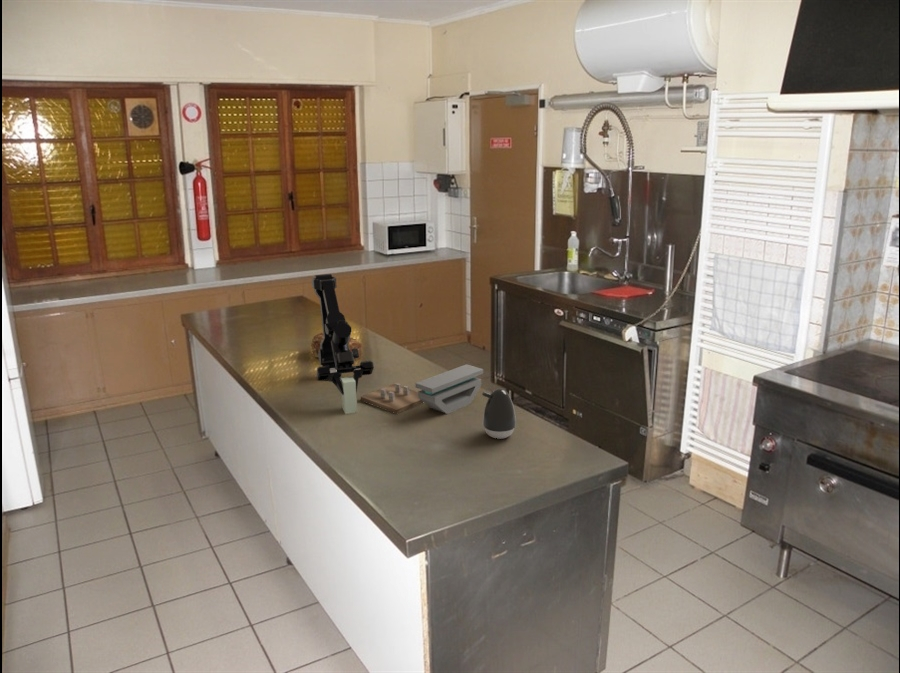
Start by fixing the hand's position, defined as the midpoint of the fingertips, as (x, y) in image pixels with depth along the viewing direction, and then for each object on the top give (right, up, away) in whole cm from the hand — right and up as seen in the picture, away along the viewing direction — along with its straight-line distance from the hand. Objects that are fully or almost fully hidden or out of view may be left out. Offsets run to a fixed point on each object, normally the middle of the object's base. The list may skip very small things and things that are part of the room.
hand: (349, 393), depth 230 cm
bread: (-13, +10, +56) cm, 58 cm away
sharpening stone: (+34, -5, +6) cm, 34 cm away
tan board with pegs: (+14, -3, +11) cm, 19 cm away
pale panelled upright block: (0, -6, +3) cm, 7 cm away
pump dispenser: (+48, -12, -16) cm, 52 cm away
